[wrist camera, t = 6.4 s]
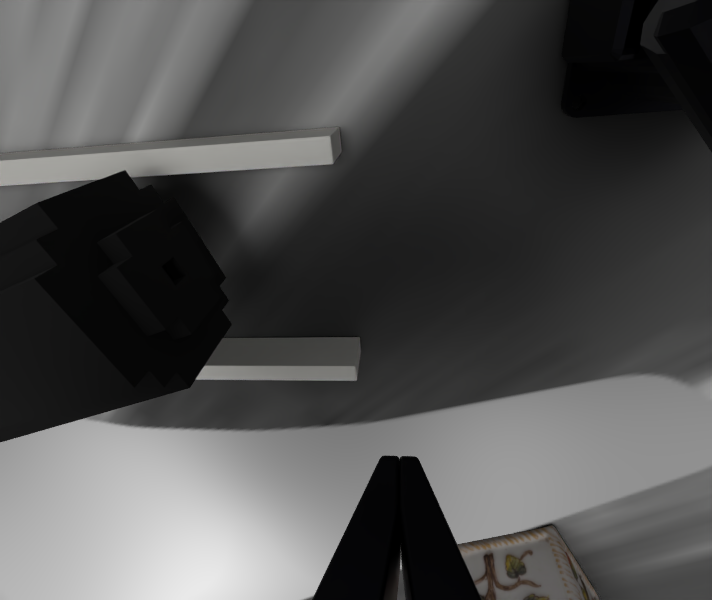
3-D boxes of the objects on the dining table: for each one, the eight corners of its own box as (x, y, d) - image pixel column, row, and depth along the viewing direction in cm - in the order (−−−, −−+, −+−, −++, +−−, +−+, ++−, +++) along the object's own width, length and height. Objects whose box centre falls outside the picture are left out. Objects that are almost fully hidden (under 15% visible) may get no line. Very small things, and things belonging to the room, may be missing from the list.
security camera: (-53, 269, 22) (-330, 393, 14) (201, 139, 17) (5, 211, 9) (37, 357, 26) (-145, 503, 17) (276, 270, 20) (186, 417, 12)
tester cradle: (339, 127, 16) (317, 148, 12) (360, 350, 22) (351, 417, 18) (-131, 163, 19) (-280, 190, 15) (0, 351, 26) (-80, 408, 21)
